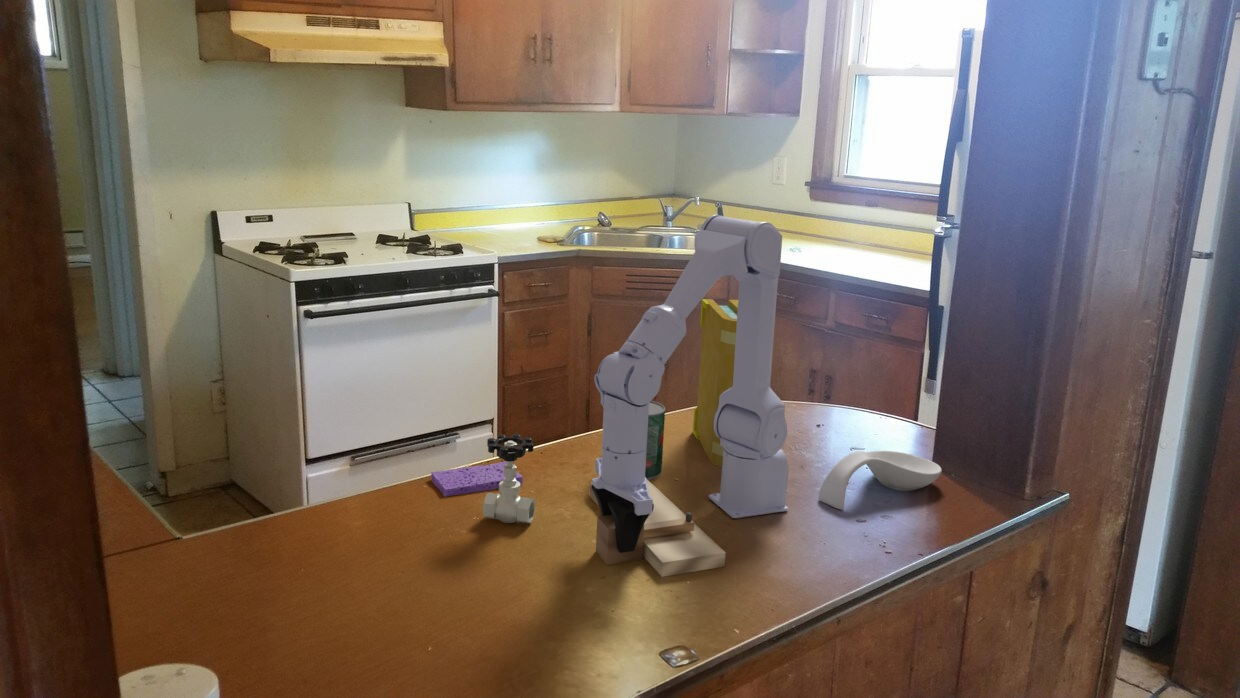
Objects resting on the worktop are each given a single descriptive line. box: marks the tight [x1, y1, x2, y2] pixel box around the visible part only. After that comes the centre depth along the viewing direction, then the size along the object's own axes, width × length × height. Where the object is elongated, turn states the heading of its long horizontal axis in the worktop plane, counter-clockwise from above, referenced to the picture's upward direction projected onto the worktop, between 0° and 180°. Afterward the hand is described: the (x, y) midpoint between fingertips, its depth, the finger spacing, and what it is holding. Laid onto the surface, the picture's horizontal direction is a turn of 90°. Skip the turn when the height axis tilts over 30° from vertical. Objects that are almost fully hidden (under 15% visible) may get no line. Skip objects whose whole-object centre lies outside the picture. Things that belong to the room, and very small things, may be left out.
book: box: [692, 298, 738, 468], centre depth 158 cm, size 17×7×25 cm, turn 6°
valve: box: [482, 433, 536, 524], centre depth 128 cm, size 7×7×12 cm
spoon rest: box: [818, 450, 943, 511], centre depth 146 cm, size 24×12×7 cm, turn 128°
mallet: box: [595, 512, 695, 566], centre depth 122 cm, size 13×4×5 cm, turn 113°
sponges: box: [430, 461, 524, 497], centre depth 142 cm, size 7×13×2 cm, turn 117°
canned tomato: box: [645, 400, 666, 481], centre depth 148 cm, size 8×8×11 cm
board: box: [589, 479, 726, 578], centre depth 129 cm, size 9×26×2 cm, turn 23°
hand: (619, 542), depth 121 cm, fingers closed on mallet, 4 cm apart
